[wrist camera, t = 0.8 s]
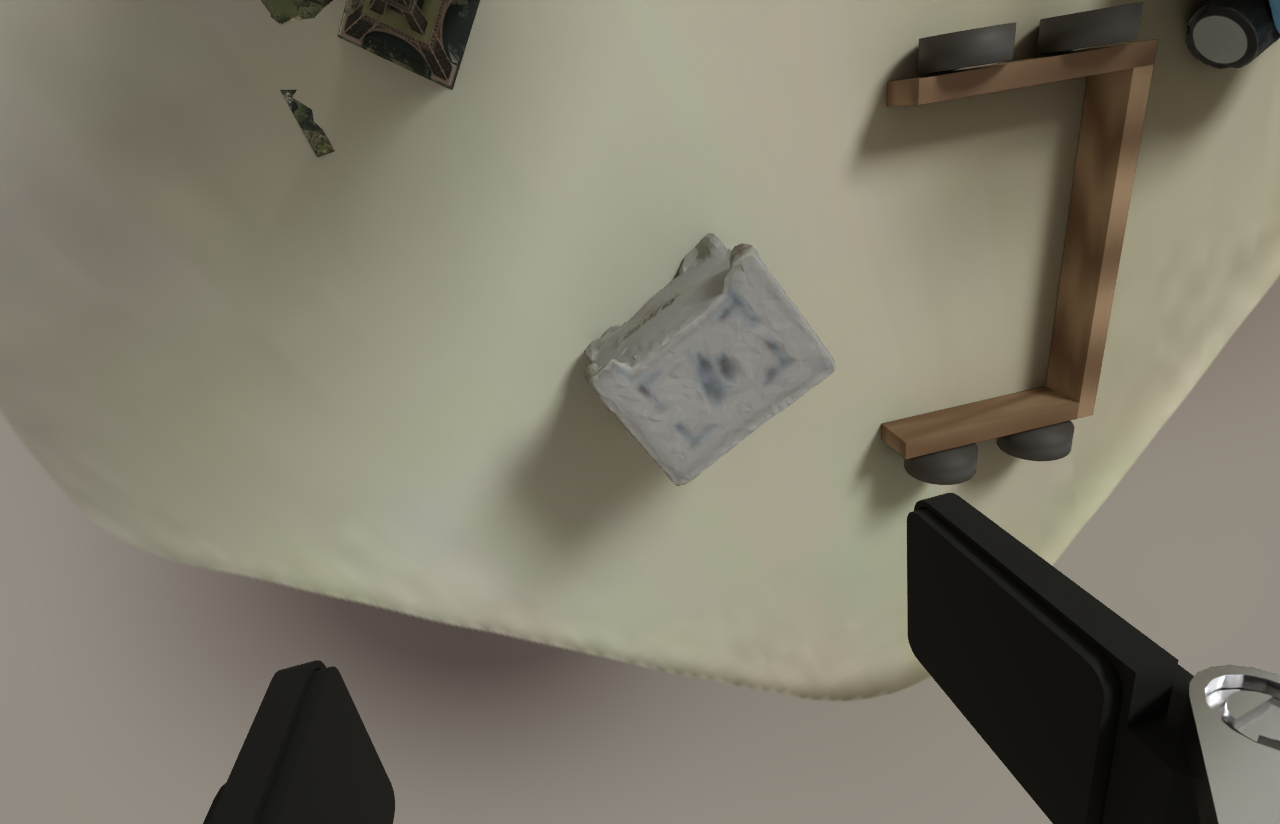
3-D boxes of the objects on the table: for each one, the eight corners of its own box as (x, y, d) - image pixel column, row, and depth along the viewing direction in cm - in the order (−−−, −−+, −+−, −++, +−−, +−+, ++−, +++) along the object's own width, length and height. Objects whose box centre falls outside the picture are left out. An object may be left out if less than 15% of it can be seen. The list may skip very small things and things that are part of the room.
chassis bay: (888, 44, 35) (937, 34, 31) (1115, 8, 36) (1191, -6, 32) (881, 461, 46) (916, 493, 42) (1055, 420, 47) (1105, 447, 43)
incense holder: (698, 214, 36) (766, 246, 27) (773, 324, 40) (857, 385, 31) (563, 325, 38) (584, 392, 28) (648, 422, 41) (692, 510, 32)
